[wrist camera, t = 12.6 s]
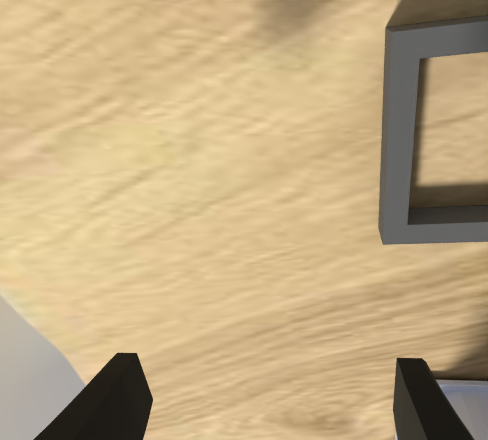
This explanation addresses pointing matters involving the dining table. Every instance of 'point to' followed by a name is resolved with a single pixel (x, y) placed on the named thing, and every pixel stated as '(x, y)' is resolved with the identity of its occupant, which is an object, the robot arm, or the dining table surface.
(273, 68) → the dining table surface
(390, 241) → the grey rectangular frame
